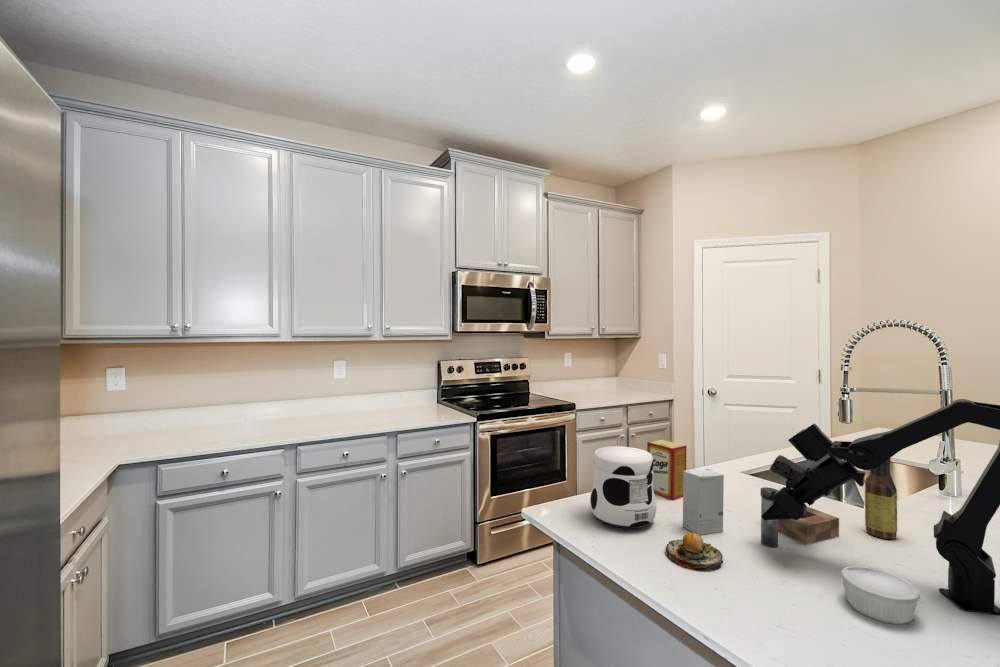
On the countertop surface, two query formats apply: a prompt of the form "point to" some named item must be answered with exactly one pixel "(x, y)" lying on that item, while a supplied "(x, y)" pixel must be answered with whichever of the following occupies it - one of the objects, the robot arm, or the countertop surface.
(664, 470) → the baking soda box
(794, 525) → the wooden peg base
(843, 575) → the ramekin
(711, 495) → the skincare box
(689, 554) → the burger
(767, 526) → the grey cylinder
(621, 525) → the milk container
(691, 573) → the countertop surface
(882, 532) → the sauce bottle
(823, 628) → the countertop surface
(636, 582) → the countertop surface
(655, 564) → the countertop surface
